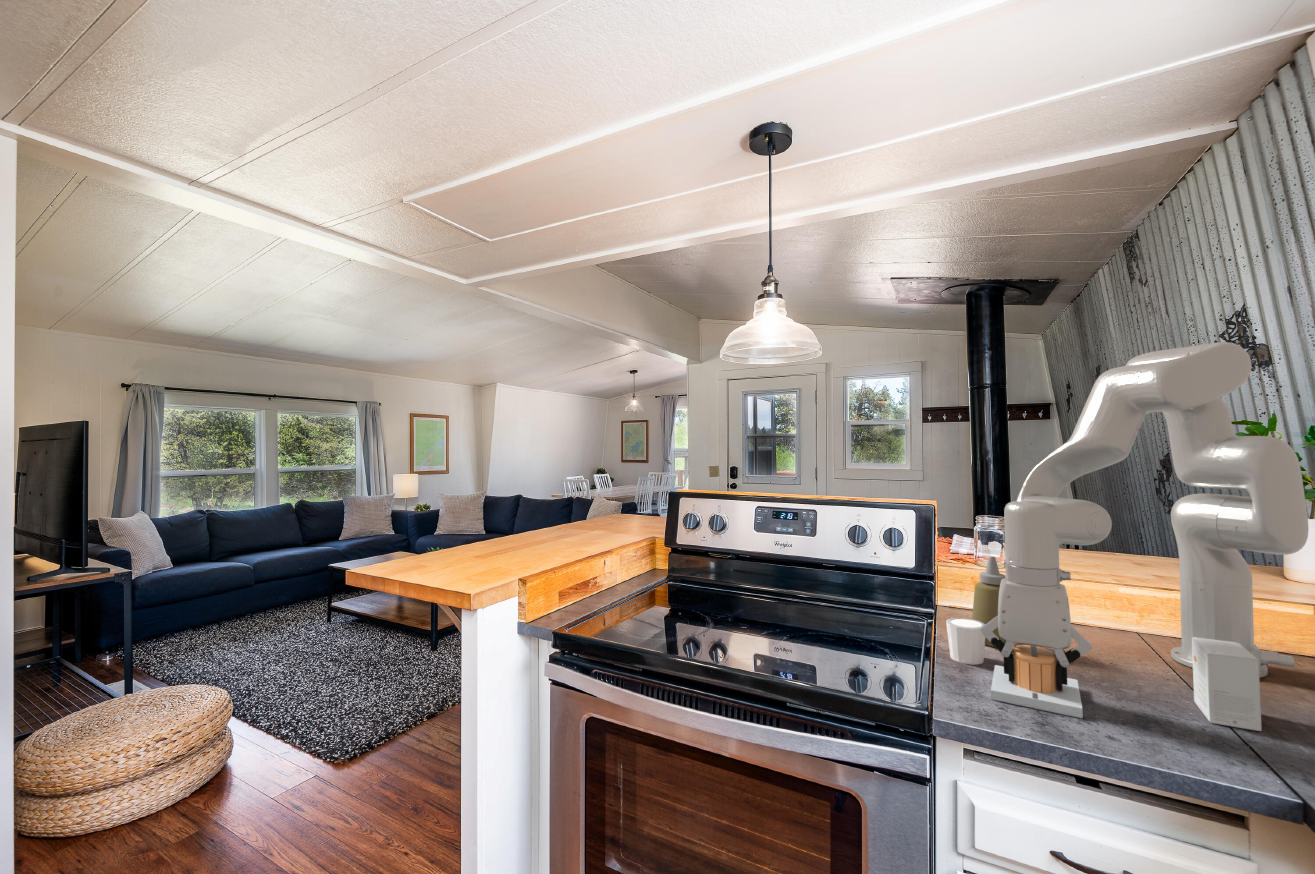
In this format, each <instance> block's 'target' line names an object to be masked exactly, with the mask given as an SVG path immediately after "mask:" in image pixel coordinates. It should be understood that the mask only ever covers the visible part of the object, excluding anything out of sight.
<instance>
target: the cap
mask: <svg viewBox="0 0 1315 874" xmlns="http://www.w3.org/2000/svg"><path fill="white" fill-rule="evenodd" d="M1012 654H1013V665H1014V683H1015V684H1016V685H1018V686H1019V687H1021V688H1024V689H1027V690H1031V691H1035V692H1040V693H1041V692H1042V693H1051V692H1052V693H1053V692H1055V691H1057V674H1056V665H1057V662H1056V661H1057V656H1056V654H1055V652H1054V651H1052V650H1050V649H1049V648H1046V647H1041V646H1034V645H1028V644H1021V645H1014V647H1013V649H1012Z"/></svg>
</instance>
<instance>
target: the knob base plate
mask: <svg viewBox="0 0 1315 874" xmlns="http://www.w3.org/2000/svg"><path fill="white" fill-rule="evenodd" d="M990 700H992V701H997V702H1001V703H1003V702H1004V703H1008V704H1012V705H1017V706H1022V707H1025V708H1032V709H1036V710H1041V711H1046V712H1050V713H1055V714H1059V715H1064V716H1069V717H1074V718H1079V719H1083V717H1084V715H1083V704H1082V699H1081V693H1080V689H1079V681H1078V679H1075V678H1070V677H1067V685H1064V684H1062V691H1059V690H1057V691H1055V692H1053V693H1052V692H1051V693H1042V692H1041V693H1040V692H1035V691H1031V690H1027V689H1024V688H1021V687H1019V686H1018V685H1016V684H1015V683H1014V681H1012V682H1010V681H1009V674H1004V665H997V664H994V669H993V674H992V680H991V687H990Z"/></svg>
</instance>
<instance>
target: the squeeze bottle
mask: <svg viewBox="0 0 1315 874" xmlns="http://www.w3.org/2000/svg"><path fill="white" fill-rule="evenodd" d="M986 563H987V564H986V569H985V571H982V572H980V573H979V582H977V583H975V585H974V593H973V603H972V604H973V605H972V617H971V619H972V620H976V621H980V622H982V623H984V624H987V623H988V622H989V621H991V620H992V619H993V618H995V617H996V616H997V615H998V598H999V589H1000V583H1001V579H1004V578H1006V574H1004V573H1001V572H1000V569H999V566H998V563H997V558H996V556H992V555H991V556H990V555H989V556H988V559H987V562H986ZM992 632H993V633H994V634H995V635H996V636H997V637H998V638H999V639H1000V640H1002V641H1003V642H1005V640H1004V639H1002V638H1001V637H1000V636H999V632H998V627H997V628H996V629H994V630H993V631H992ZM985 645H986V646H988V647H993V648H996V647H995V646H994V645H992V643H991V642H990V641H989V640H988V639H987V638H986V637H985Z"/></svg>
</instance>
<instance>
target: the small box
mask: <svg viewBox="0 0 1315 874" xmlns="http://www.w3.org/2000/svg"><path fill="white" fill-rule="evenodd" d="M1192 660H1193V668H1192V675H1193V676H1192V677H1193V678H1192V680H1193V681H1192V683H1193V702H1194V704H1196V705H1197V707H1198V708H1199V710H1200V711H1201V712H1202V714H1203V715H1204V716H1205V718H1206V719H1207V720H1208V722H1209V723H1210V724H1216V725H1222V726H1227V727H1232V728H1237V729H1238V728H1239V729H1245V730H1249V731H1256V732H1262V730H1263V729H1262V706H1261V705H1262V704H1261V686H1260V682H1261V681H1260V678H1259V660H1258V659H1257V658H1256V657H1255V656H1254V655H1252V654H1251V653H1250V652H1249V651H1248V650H1246V649H1245V648H1244V647H1243V646H1242V645H1241V644H1239V643H1236V642H1229V641H1220V640H1213V639H1204V638H1196V637H1192Z"/></svg>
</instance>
